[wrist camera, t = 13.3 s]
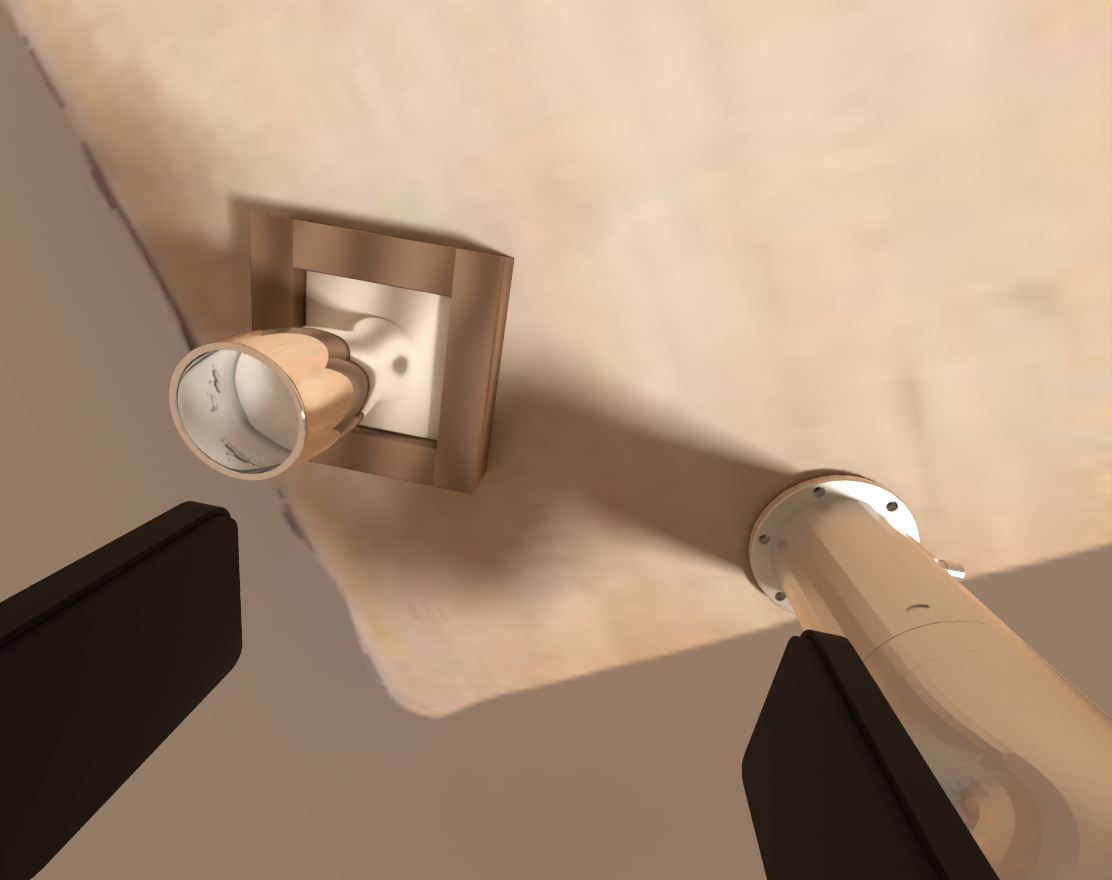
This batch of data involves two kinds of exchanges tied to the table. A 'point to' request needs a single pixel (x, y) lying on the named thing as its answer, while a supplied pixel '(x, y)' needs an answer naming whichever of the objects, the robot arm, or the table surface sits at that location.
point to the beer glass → (285, 392)
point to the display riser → (421, 312)
